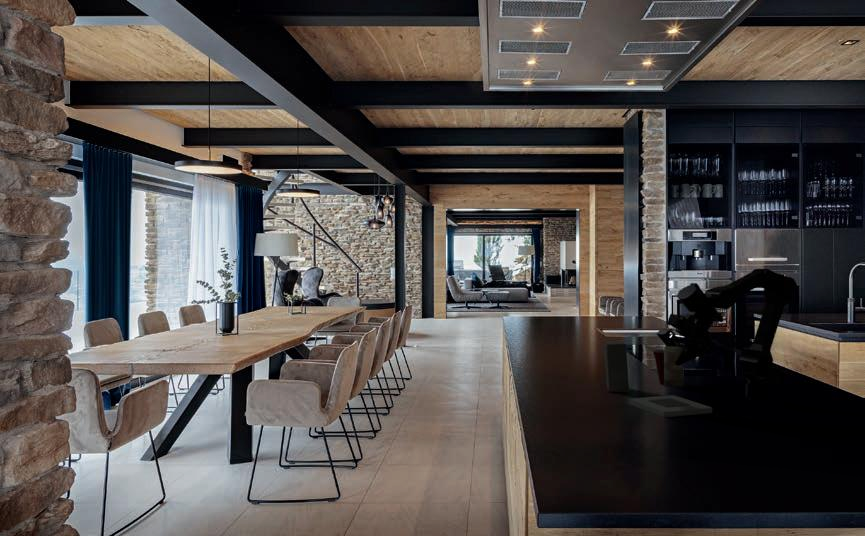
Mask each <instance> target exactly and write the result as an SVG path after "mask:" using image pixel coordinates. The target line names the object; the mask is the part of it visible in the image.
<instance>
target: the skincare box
mask: <svg viewBox="0 0 865 536" xmlns="http://www.w3.org/2000/svg"><path fill="white" fill-rule="evenodd" d="M604 360H605V361H604V362H605V363H604V364H605V375H606V378H605V379H606V388H607V390H608V392H612V393H613V392H614V393H618V392H619V393H629V392H630V386H629V371H628V369H629V368H628V354H627V344H626V343H625V342H624V341H605V342H604Z"/></svg>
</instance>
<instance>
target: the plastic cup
mask: <svg viewBox="0 0 865 536" xmlns="http://www.w3.org/2000/svg"><path fill="white" fill-rule="evenodd" d="M651 352H652V353H653V356H654V359H655V365H656V370H657V371H656V372H657V376H658V382H659V384H660V386H661V385H662V386H664V362H663V361H662V358H663V354H664V349H652V350H651Z"/></svg>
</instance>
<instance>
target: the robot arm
mask: <svg viewBox="0 0 865 536" xmlns="http://www.w3.org/2000/svg"><path fill="white" fill-rule="evenodd" d="M758 287H760V288H762V289H763V296H764V299H765V305H764V308H763V310H762V314H761V317H760V321H759V322H758V325H757V326H758V327H757V330H756V331H755V332H756V333H755V335H754V339H753V342H752V344H751V345H750V346H749V347H748V348H746V347H744V348H743V349H742V351H741V355H740V357H739V358H738V361H739V364H738V365H739V366H738V367H739V368H740V371H741V375H742V378H743V379H747V383H745V397H746V398H747V399H748V400H749V401H750V402H754V403H755V402H757V403H773V404H774V403H775V400H774V384H776V383H778V382H779V379H780V374H779V373H778V371H777V370H775V368H774V366H773V363H774V359H773V354H772V352H771V349H772V346H773V343H774V340H775V337H776V334H777V329H778V326H779V324H780V321H781V317H782V314H783V312H784V308H785V306H786V305H787V304H788V303H790V302H791V301H792V300H793V298H794V296H795V294H796V293H797V289H798V283H797V282H796V280H795V278H793V277H791V276H786V275H783V274H780V273H777V272H776V271H773V270H771V269H769V268H756V269H753V270H752V271H751V272H749V273H747V274H745V275H743V276H741V277H740V278H738V279H736V280H734V281H732V282H730V283H728V284H726V285H720V286H714V287H712V288H709V289H707V290H705V292H704V291H703V290H702V288H700V285H699V284H698V283H696V282H691V283H690V284H689V285H686V286H685V287H683V288H681V289H680V290H678V292H677V295H676V297H677V299H678V300H679V301H680V302H681V304H682V305H683V306H684V308H685V309H686V310H687V311H688V312H690V313H693V314H685V315H682V314H676V313H670V314H669V317H668V320H667V322H666V324H667V326H671V327H673V328H674V330H675V332H676V333H677V334H676V333H675V332H674V331H673V330H672V329H669V328H668V329H667V328H660V329H659V330H658V331H657V332H656V336H657V337H658V338H659V339H660V340H661V341H662V343H663V344H664V345H665V346H664V347H666V346H676V347H680V344H681V345H684V348H683V351H682V353H681V354H680V356H679V357H678V359H677V361H676V363H675V364H676V365H677V366H679V365H681V364H683V365H684V364H685V363H688V362H689V361H691V360H694V359H697V358H699V357H704V356H705V354H706V355H709V356H715V355H716V354H717V353H718V351H719V350H718V349H719V346H718V344H716V342H715V341H714V340H713V338H712V337H711V336H710V333H711V332H710V331H709V330H710V328H711V327H712V326H713V324H714V323H716V322H718V323H723V322H724V318H723V315H722V312H718V310H717V309H719V310H728V309H730V308H732V307H733V306H734V305H735V304H737V302H738V299H739V298H740V297H741V296H743V295H746V294H747V293H749V292H751V291H752V290H754V289H756V288H758ZM662 361H663V362H664V354H663V358H662Z"/></svg>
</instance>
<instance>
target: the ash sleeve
mask: <svg viewBox="0 0 865 536" xmlns="http://www.w3.org/2000/svg"><path fill="white" fill-rule="evenodd" d="M665 346H666V345H665ZM665 346H663V350H664V385H663V386H665V387H667V388H672V389H676V388H677V389H681V388H684V363H683V364H681V365H679V366H677V365H676V364H675V363H676V361H677V359H678V357H679V356H680V354H681V353H682V351H683V350H684V348H683V347H681V346H678V347H676V346H666V347H665Z"/></svg>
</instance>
